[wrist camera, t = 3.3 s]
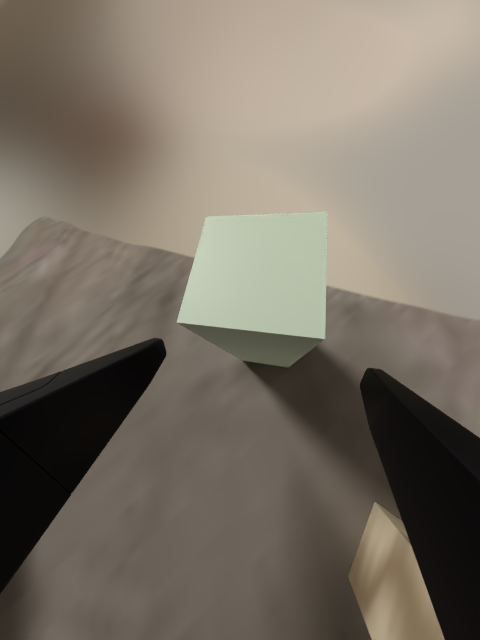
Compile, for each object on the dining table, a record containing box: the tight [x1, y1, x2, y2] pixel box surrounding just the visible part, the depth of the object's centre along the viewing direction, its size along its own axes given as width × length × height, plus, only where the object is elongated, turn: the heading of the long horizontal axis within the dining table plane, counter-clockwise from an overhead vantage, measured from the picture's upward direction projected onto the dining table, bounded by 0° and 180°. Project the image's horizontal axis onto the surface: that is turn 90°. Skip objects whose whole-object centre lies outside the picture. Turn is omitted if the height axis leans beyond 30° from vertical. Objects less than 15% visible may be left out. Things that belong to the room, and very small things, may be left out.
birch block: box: [348, 502, 445, 640], centre depth 9 cm, size 5×5×6 cm
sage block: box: [177, 212, 327, 367], centre depth 12 cm, size 5×5×13 cm
